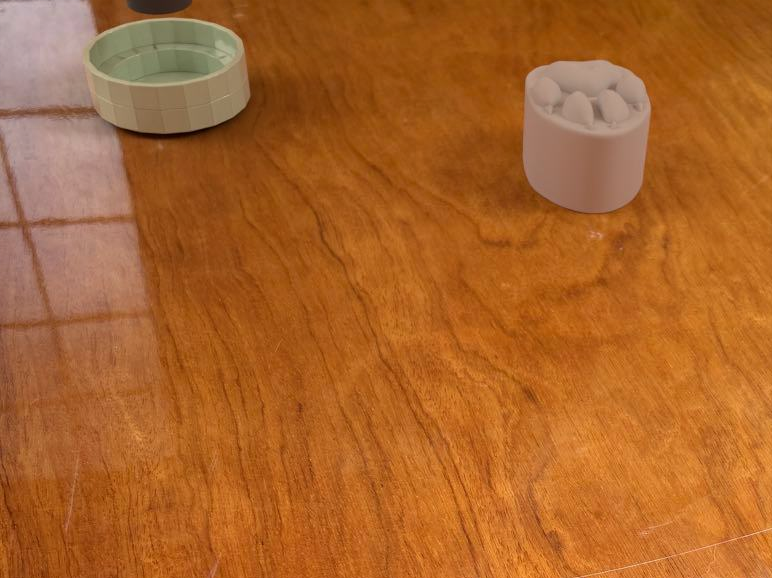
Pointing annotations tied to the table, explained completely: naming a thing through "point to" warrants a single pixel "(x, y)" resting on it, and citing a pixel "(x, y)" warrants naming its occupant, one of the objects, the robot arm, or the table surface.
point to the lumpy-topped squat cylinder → (585, 134)
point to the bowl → (167, 75)
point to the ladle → (158, 6)
